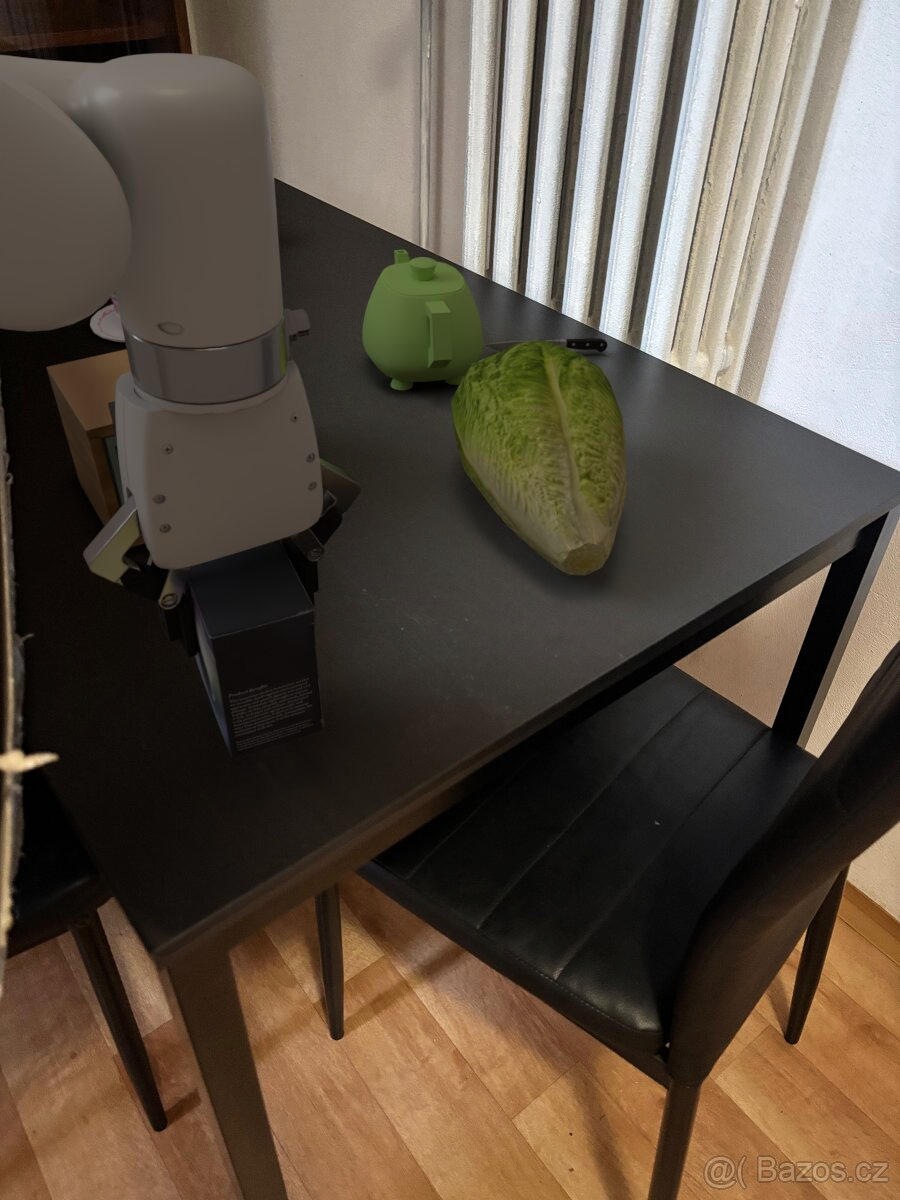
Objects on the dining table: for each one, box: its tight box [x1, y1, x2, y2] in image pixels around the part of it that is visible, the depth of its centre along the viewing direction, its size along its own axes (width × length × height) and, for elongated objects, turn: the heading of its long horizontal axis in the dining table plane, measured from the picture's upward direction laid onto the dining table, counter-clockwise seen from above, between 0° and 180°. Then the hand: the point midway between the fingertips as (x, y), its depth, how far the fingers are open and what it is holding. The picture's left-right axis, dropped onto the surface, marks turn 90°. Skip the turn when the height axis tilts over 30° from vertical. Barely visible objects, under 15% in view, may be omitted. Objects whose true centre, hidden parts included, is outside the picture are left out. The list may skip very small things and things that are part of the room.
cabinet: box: [46, 348, 145, 549], centre depth 82 cm, size 18×12×12 cm, turn 122°
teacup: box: [89, 292, 125, 343], centre depth 110 cm, size 12×12×6 cm
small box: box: [184, 539, 325, 758], centre depth 56 cm, size 11×6×10 cm, turn 25°
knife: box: [484, 337, 609, 353], centre depth 107 cm, size 15×1×2 cm, turn 95°
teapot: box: [361, 249, 484, 391], centre depth 101 cm, size 20×13×13 cm
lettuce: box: [450, 339, 628, 576], centre depth 80 cm, size 14×24×15 cm
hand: (243, 620), depth 56 cm, fingers closed on small box, 6 cm apart
